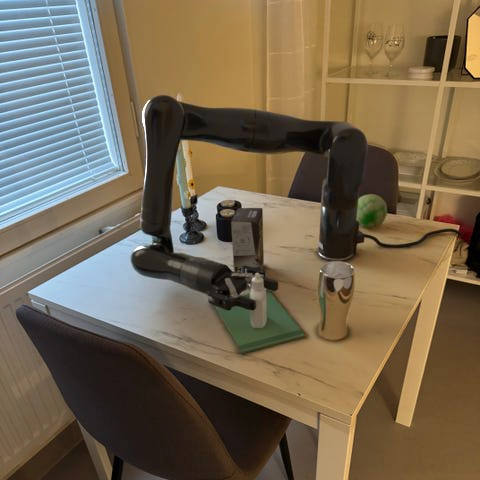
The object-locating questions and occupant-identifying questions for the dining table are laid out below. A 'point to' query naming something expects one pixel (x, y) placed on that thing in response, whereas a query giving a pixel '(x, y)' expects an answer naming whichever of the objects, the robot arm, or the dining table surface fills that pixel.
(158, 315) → the dining table surface
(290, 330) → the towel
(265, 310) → the eye dropper bottle
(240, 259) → the coffee box
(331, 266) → the beer glass
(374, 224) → the decorative ball
